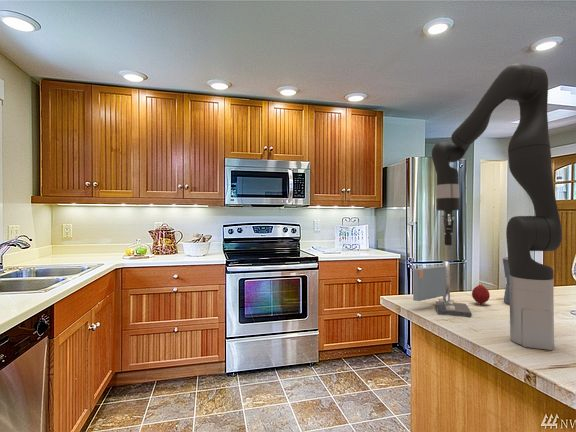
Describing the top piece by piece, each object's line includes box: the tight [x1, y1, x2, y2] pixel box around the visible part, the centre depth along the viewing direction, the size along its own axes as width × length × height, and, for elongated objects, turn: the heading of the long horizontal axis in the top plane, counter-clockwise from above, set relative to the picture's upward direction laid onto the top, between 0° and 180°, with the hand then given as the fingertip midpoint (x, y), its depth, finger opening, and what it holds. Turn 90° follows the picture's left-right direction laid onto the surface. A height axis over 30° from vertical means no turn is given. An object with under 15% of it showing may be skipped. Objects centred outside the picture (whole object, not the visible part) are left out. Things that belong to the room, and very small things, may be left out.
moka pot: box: [502, 256, 510, 306], centre depth 123 cm, size 10×15×20 cm, turn 161°
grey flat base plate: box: [435, 300, 472, 318], centre depth 114 cm, size 12×10×2 cm
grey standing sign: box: [412, 265, 446, 302], centre depth 118 cm, size 16×3×11 cm, turn 121°
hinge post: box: [438, 260, 455, 303], centre depth 124 cm, size 5×5×16 cm
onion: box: [471, 282, 491, 305], centre depth 122 cm, size 6×6×8 cm
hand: (448, 245), depth 117 cm, fingers closed
